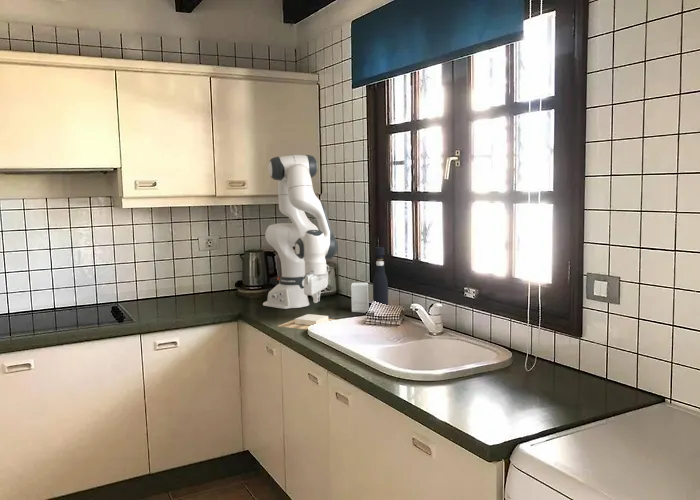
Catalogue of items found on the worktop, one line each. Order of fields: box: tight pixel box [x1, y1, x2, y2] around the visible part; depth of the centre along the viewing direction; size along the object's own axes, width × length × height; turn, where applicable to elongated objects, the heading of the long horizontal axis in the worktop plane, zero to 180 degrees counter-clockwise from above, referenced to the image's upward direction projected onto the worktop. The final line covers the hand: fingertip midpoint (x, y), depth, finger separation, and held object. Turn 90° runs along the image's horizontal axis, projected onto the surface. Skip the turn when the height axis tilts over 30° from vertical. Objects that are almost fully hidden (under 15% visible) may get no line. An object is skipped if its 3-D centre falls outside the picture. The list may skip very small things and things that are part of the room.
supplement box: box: [350, 282, 370, 314], centre depth 290 cm, size 7×7×13 cm
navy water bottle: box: [372, 246, 389, 306], centre depth 277 cm, size 6×6×30 cm
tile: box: [294, 313, 329, 326], centre depth 267 cm, size 10×2×10 cm
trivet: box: [278, 318, 337, 330], centre depth 266 cm, size 20×20×1 cm
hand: (316, 302), depth 270 cm, fingers closed
